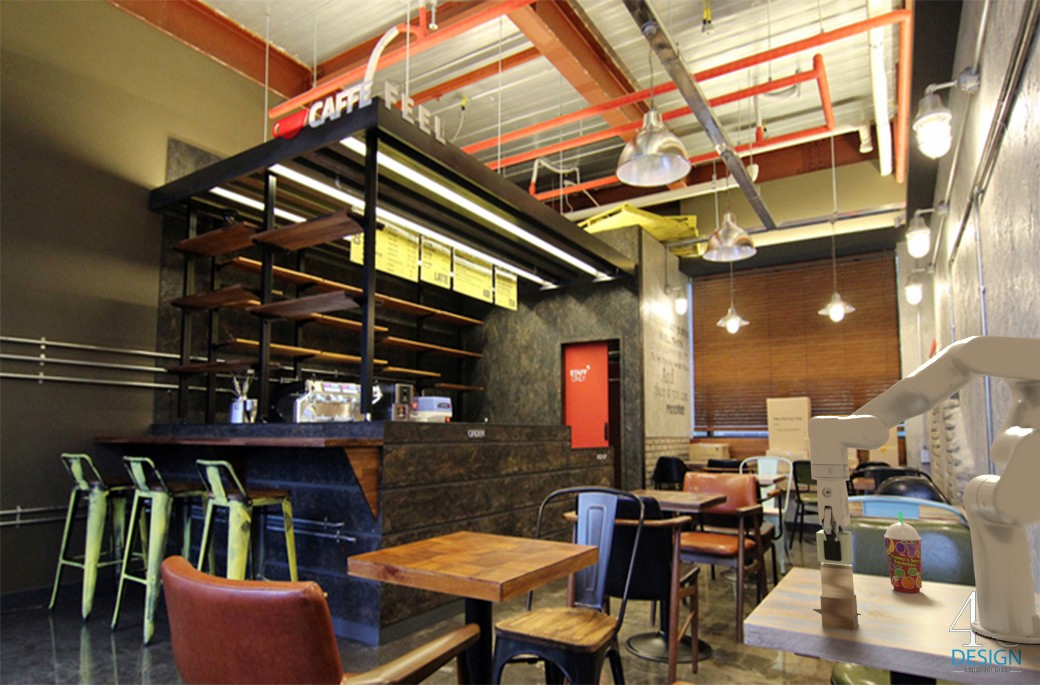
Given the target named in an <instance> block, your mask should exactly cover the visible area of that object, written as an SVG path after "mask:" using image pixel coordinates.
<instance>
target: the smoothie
mask: <svg viewBox="0 0 1040 685" xmlns="http://www.w3.org/2000/svg"><path fill="white" fill-rule="evenodd" d="M898 517H899V518H898V519H899V520H898V522H894V523H892V524H890V526H888V528H887V529H886V531H885V534H884V535H883V537H884V544H885V550H886V557H887V564H888V565H887V566H888V570H889V571H888V572H889V578H890V585H892V588H893V590H894V591H895V592H899V593H902V594H903V593H904V594H919V593H921V592H920V591H921V589H922V587H923V581H922V579H923V577H922V537H921V536H920V534H919V533H918V531H917V530H916V528H914V527H913V526H912V525H911V524H908V523H906V522H903V513H902V511H898Z"/></svg>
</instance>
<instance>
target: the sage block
mask: <svg viewBox="0 0 1040 685" xmlns="http://www.w3.org/2000/svg"><path fill="white" fill-rule="evenodd" d="M815 536H816V550H817V551H816V552H817V554H816V555H817V562H818V563H819V562H820V563H822V562H823V563H835V564H844V565H852V563H853V562H854V551H853V550H854V549H853V537H852V531H845V530H844V531H839V541H840V544H841V558H842V560H841V561H831V560H825V557H824V542H823V540H824V529H820V530H819V531H816V533H815Z"/></svg>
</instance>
